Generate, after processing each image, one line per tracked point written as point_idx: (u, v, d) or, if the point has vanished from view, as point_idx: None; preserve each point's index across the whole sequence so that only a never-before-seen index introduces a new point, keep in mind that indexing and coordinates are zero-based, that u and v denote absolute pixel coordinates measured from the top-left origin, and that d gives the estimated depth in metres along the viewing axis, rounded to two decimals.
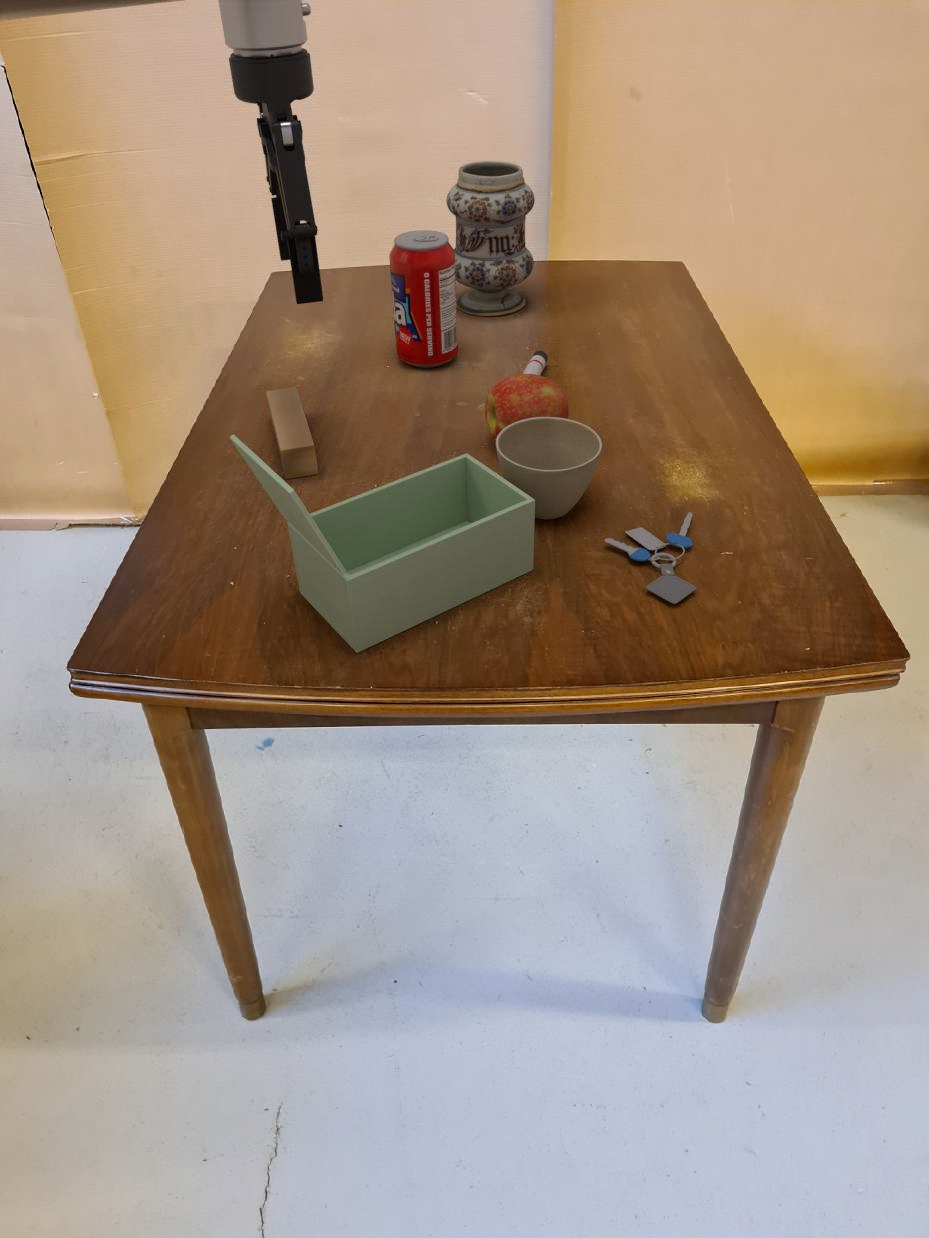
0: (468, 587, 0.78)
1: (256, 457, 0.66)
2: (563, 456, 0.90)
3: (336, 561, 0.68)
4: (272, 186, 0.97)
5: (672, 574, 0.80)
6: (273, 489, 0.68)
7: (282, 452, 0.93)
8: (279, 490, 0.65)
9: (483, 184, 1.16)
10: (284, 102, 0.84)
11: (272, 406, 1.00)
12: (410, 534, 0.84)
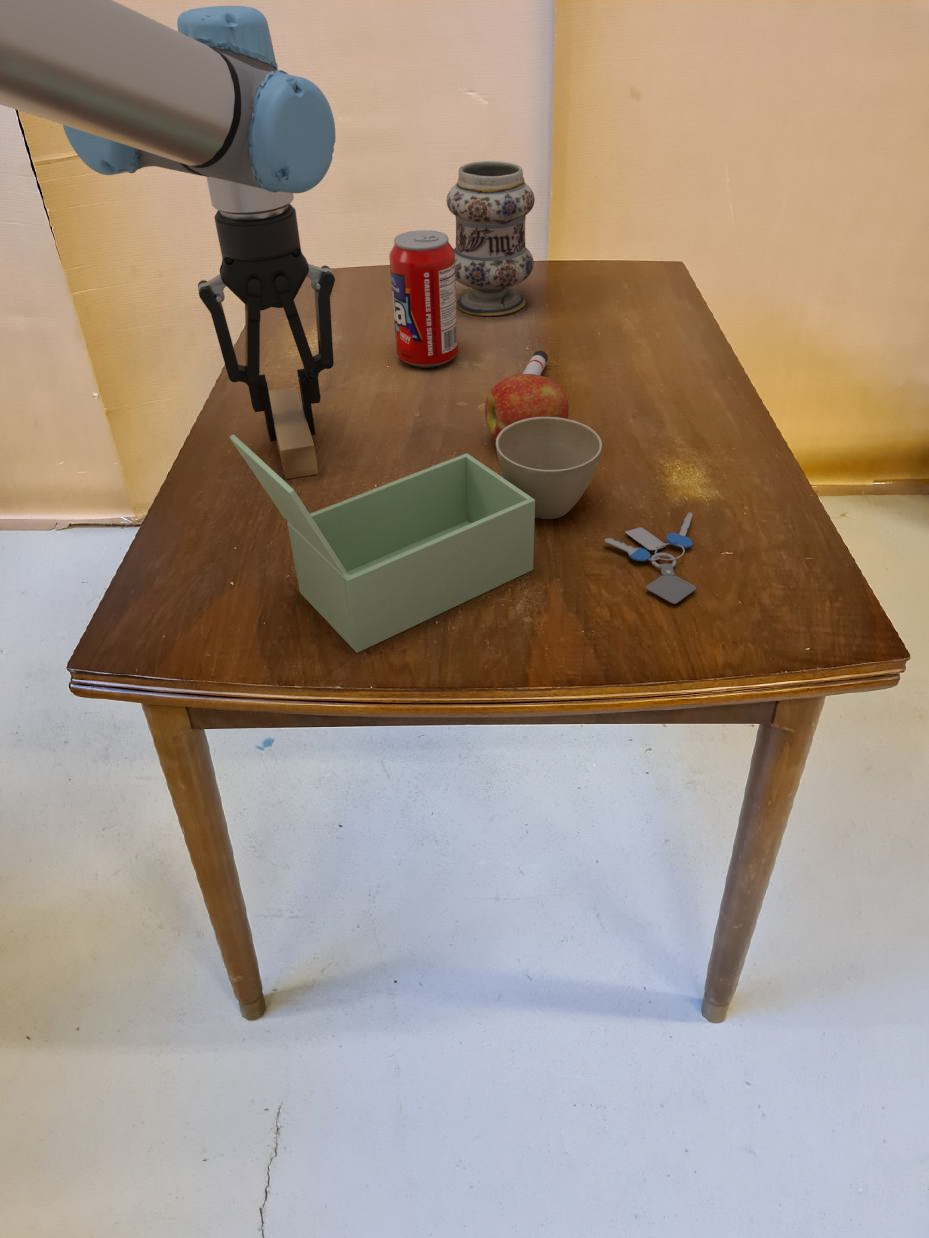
0: (468, 587, 0.78)
1: (256, 457, 0.66)
2: (563, 456, 0.90)
3: (336, 561, 0.68)
4: (259, 367, 0.93)
5: (672, 574, 0.80)
6: (273, 489, 0.68)
7: (282, 452, 0.93)
8: (279, 490, 0.65)
9: (483, 184, 1.16)
10: None
11: (272, 406, 1.00)
12: (410, 534, 0.84)
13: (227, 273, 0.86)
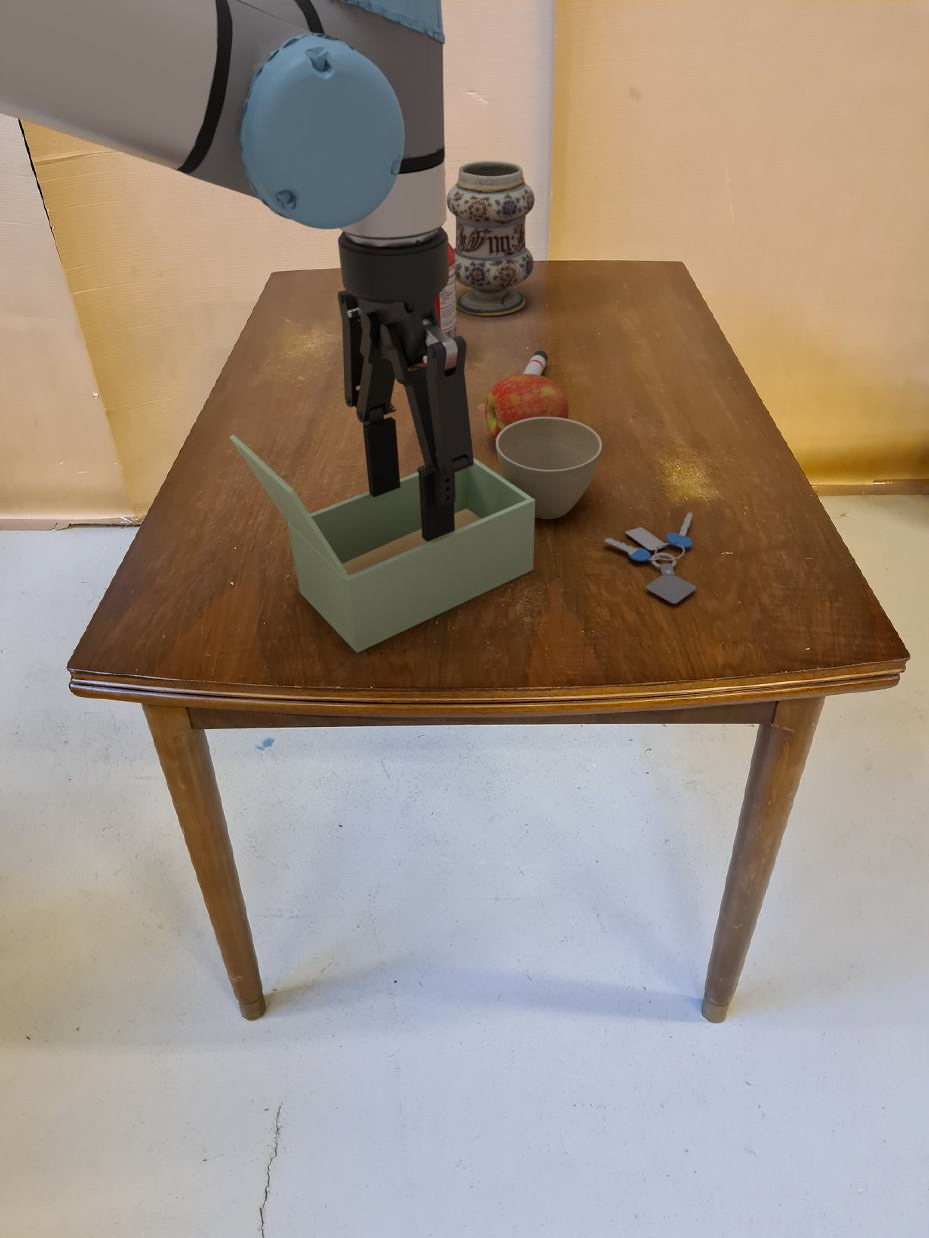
0: (468, 587, 0.78)
1: (256, 457, 0.66)
2: (563, 456, 0.90)
3: (336, 561, 0.68)
4: (366, 408, 0.73)
5: (672, 574, 0.80)
6: (273, 489, 0.68)
7: None
8: (279, 490, 0.65)
9: (483, 184, 1.16)
10: (430, 297, 0.62)
11: None
12: None
13: None
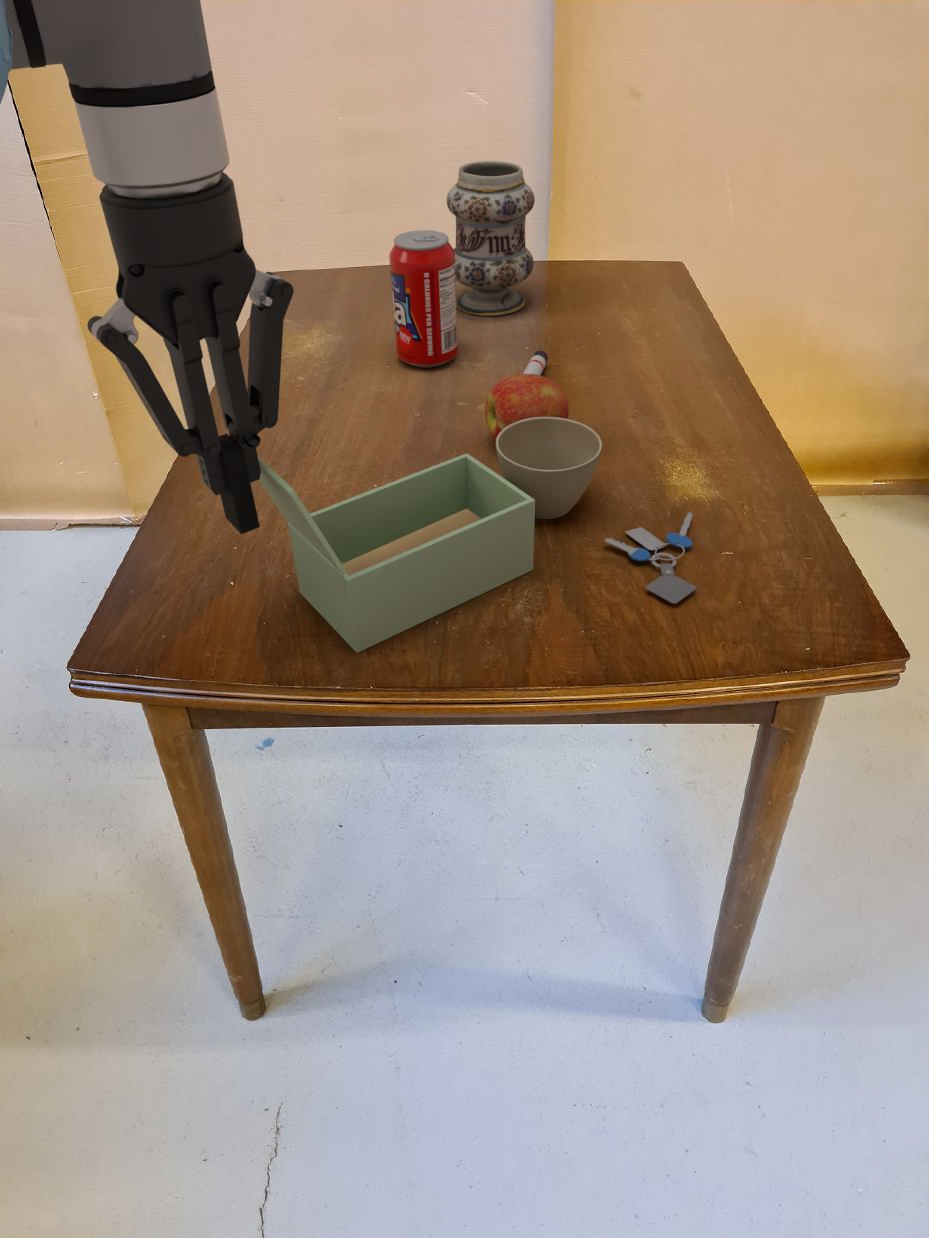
0: (468, 587, 0.78)
1: None
2: (563, 456, 0.90)
3: (336, 561, 0.68)
4: (215, 427, 0.60)
5: (672, 574, 0.80)
6: (273, 489, 0.68)
7: None
8: (279, 490, 0.65)
9: (483, 184, 1.16)
10: None
11: (432, 525, 0.81)
12: None
13: (135, 291, 0.53)
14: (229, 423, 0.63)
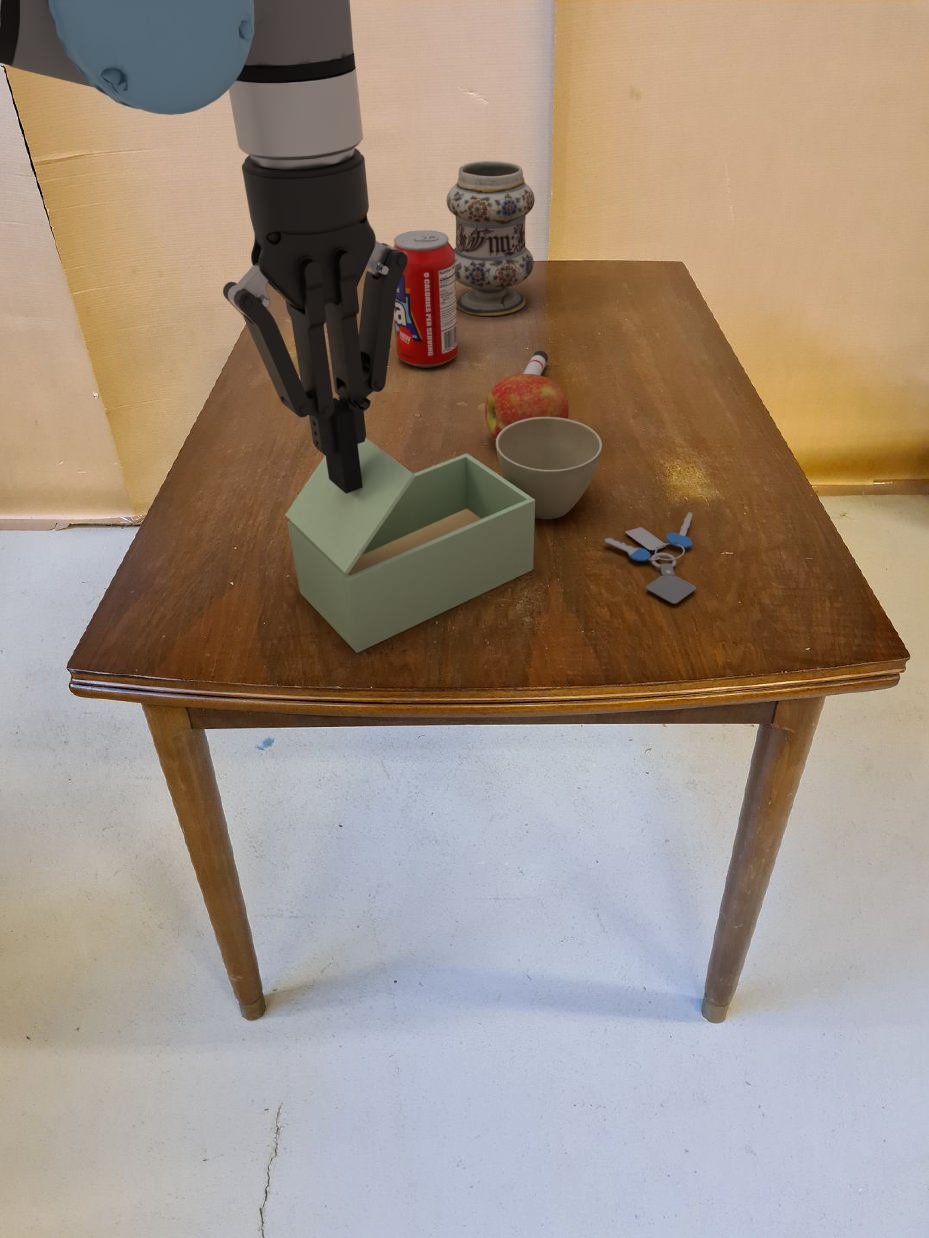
0: (468, 587, 0.78)
1: (375, 445, 0.71)
2: (563, 456, 0.90)
3: (357, 556, 0.69)
4: (330, 389, 0.64)
5: (672, 574, 0.80)
6: None
7: None
8: (376, 474, 0.70)
9: (483, 184, 1.16)
10: None
11: (432, 525, 0.81)
12: None
13: (271, 258, 0.57)
14: (339, 387, 0.66)
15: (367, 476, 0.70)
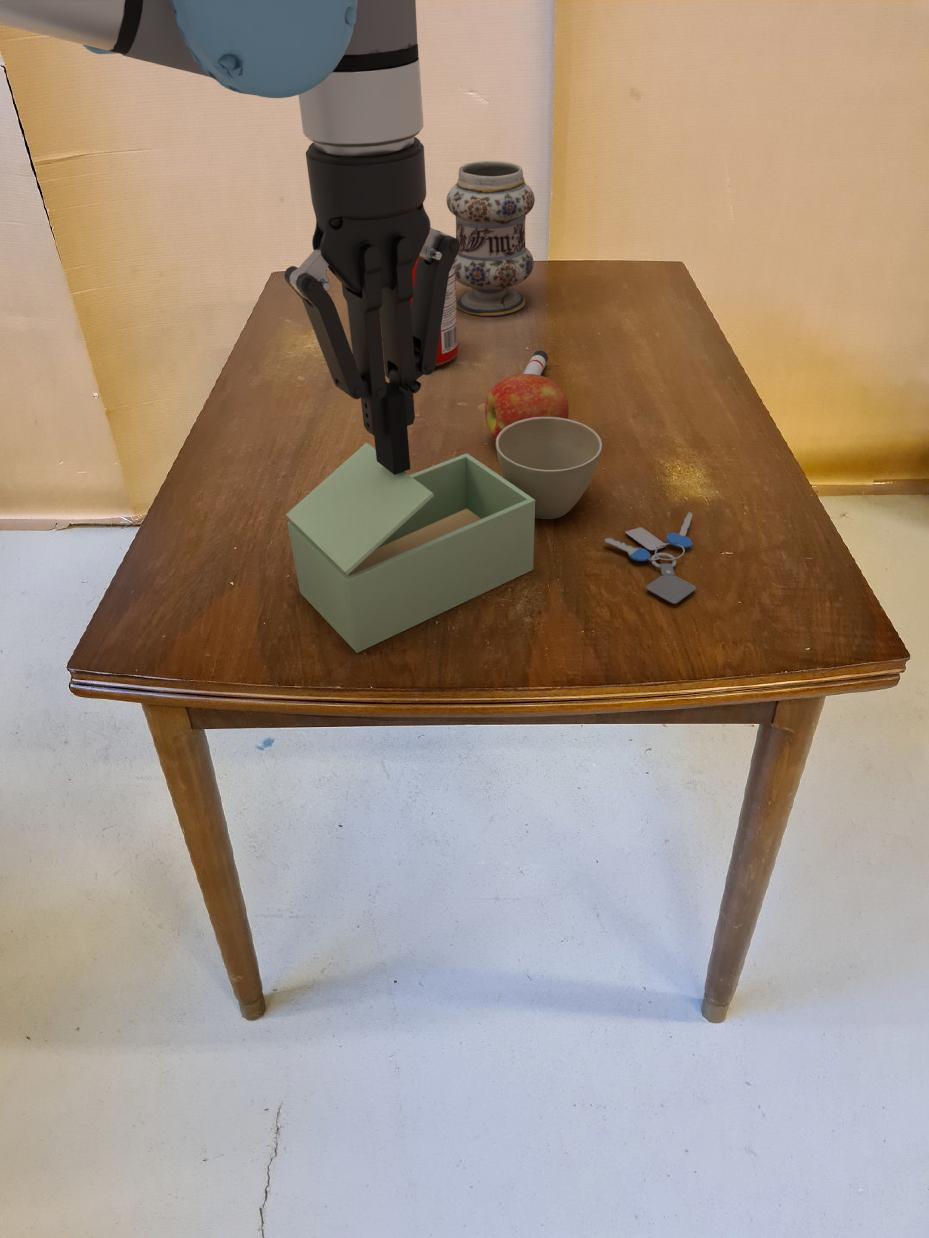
0: (468, 587, 0.78)
1: None
2: (563, 456, 0.90)
3: (361, 559, 0.69)
4: None
5: (672, 574, 0.80)
6: (366, 488, 0.73)
7: None
8: (392, 489, 0.72)
9: (483, 184, 1.16)
10: None
11: (432, 525, 0.81)
12: None
13: (333, 242, 0.58)
14: (390, 370, 0.68)
15: (382, 489, 0.72)
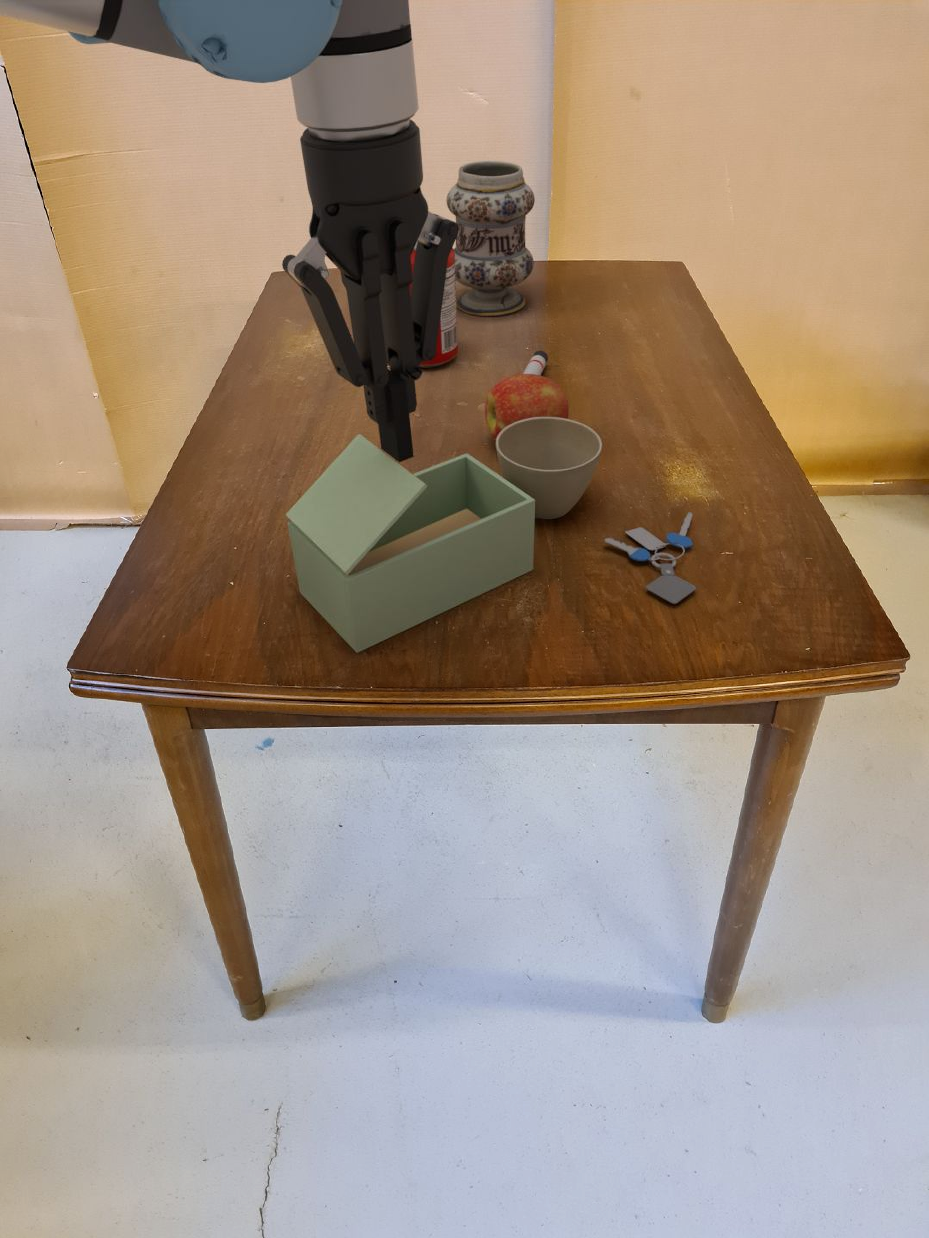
0: (468, 587, 0.78)
1: (387, 455, 0.73)
2: (563, 456, 0.90)
3: (359, 558, 0.69)
4: None
5: (672, 574, 0.80)
6: (360, 482, 0.72)
7: None
8: (386, 482, 0.71)
9: (483, 184, 1.16)
10: None
11: (432, 525, 0.81)
12: None
13: (330, 229, 0.58)
14: (391, 358, 0.68)
15: (377, 483, 0.71)
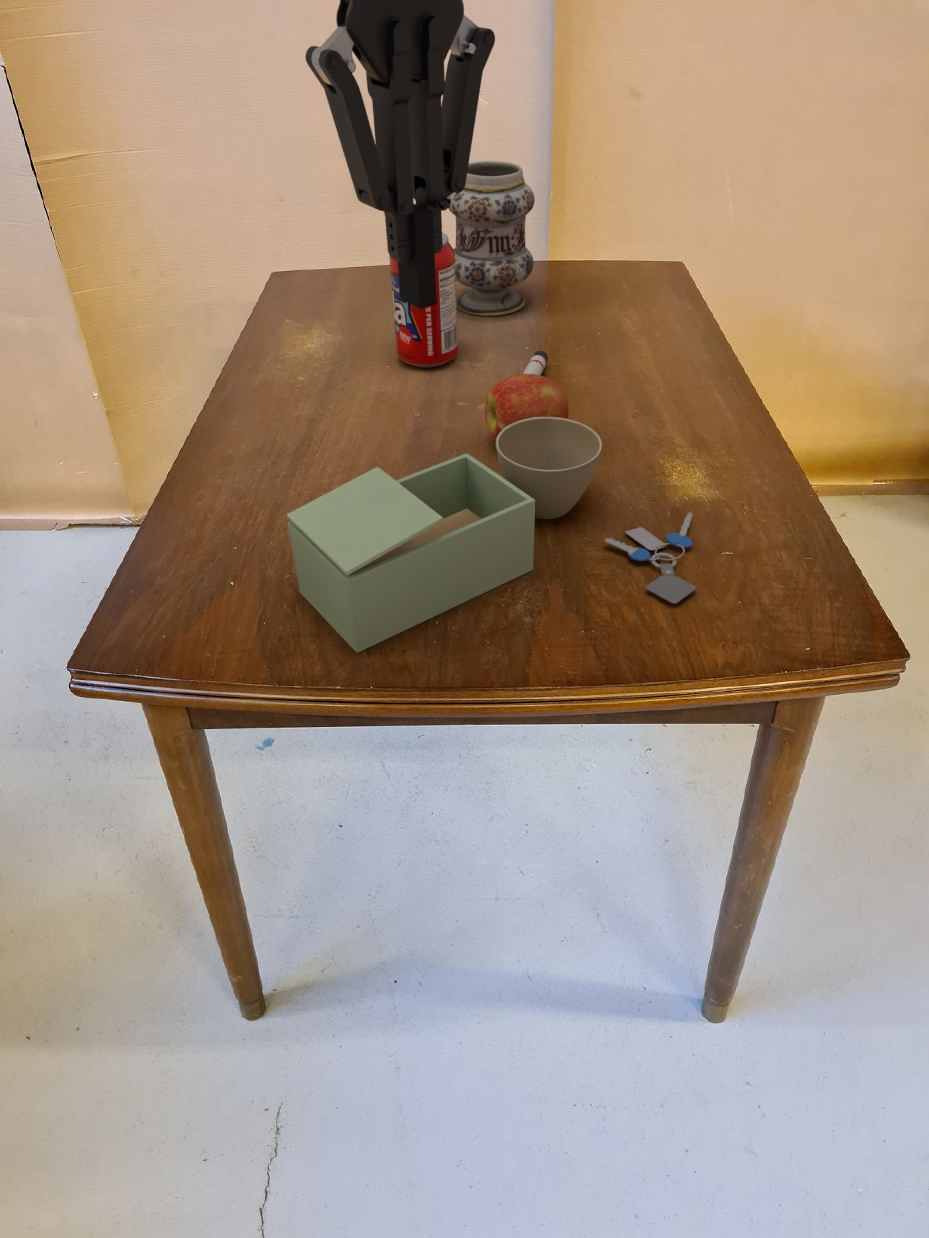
0: (468, 587, 0.78)
1: None
2: (563, 456, 0.90)
3: (363, 564, 0.69)
4: (410, 183, 0.61)
5: (672, 574, 0.80)
6: (374, 504, 0.74)
7: None
8: (402, 509, 0.73)
9: (483, 184, 1.16)
10: None
11: None
12: None
13: (360, 14, 0.53)
14: (417, 188, 0.63)
15: (391, 508, 0.74)
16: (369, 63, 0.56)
